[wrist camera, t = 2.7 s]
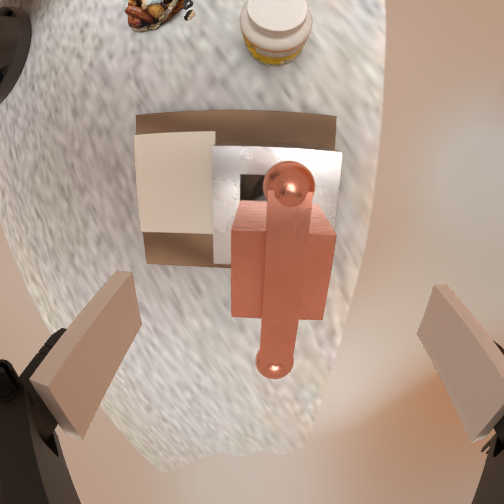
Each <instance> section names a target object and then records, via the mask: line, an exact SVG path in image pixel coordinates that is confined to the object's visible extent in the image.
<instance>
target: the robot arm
mask: <svg viewBox="0 0 504 504" xmlns="http://www.w3.org/2000/svg"><path fill="white" fill-rule="evenodd" d="M30 37H31V25H30V20H29V17H28V15H27V14H26V12H25V11H23V10H22V9H18V8H14V7H0V102H1V101H2V100H3V99H4V98H5V97H6V96H7V94H8V93H9V92H10V90H11V89H12V87H13V86H14V84H15V82H16V81H17V79H18V77H19V75H20V73H21V70H22V68H23V65H24V63H25V60H26V57H27V53H28V49H29V44H30ZM141 325H142V322H141V318H140V313H139V308H138V303H137V298H136V292H135V287H134V281H133V275H132V272H124V271H116V272H115V273H114V274H113V275H112V277H111V278H110V279H109V280H108V281H107V282H106V283H105V284H104V286H103V287H102V288H101V289H100V290H99V291H98V292H97V294H96V295H95V296H94V297H93V298H92V299H91V301H90V302H89V303H88V304H87V305H86V307H85V308H84V309H83V310H82V311H81V313H80V314H79V315H78V316H77V317H76V319H75V320H74V321H73V322H72V324H71V325H70V326H69V327H68V329H65V328H61V329H60V330H58V331H57V332H56V333H54V334H53V335H51V337H50V338H49V339H48V340H47V342H46V343H45V344H44V346H43V347H42V348H41V349H40V350H39V353H37V354H36V356H35V357H34V358H33V359H32V361H31V362H30V363H29V365H28V366H27V367H26V369H25V370H24V371H23V373H22V374H21V375H20V377H18V375H17V373H16V371H15V370H14V368H13V366H12V364H11V363H9V362H8V361H7V360H2V359H1V360H0V504H81V502H80V500H79V498H78V495H77V493H76V490H75V488H74V485H73V482H72V480H71V477H70V474H69V471H68V468H67V465H66V462H65V459H64V456H63V453H62V449H61V446H60V442H59V439H58V436H57V434H56V432H55V428H56V426H57V424H59V426H60V427H61V428H62V430H63V431H64V433H66V434H68V435H71V436H74V437H77V438H79V439H82V440H83V438H84V436H85V434H86V432H87V430H88V428H89V425H90V423H91V421H92V419H93V417H94V415H95V413H96V411H97V409H98V407H99V405H100V403H101V401H102V399H103V397H104V395H105V393H106V391H107V389H108V387H109V385H110V383H111V381H112V379H113V377H114V375H115V373H116V371H117V369H118V368H119V366H120V364H121V362H122V360H123V358H124V356H125V354H126V352H127V351H128V349H129V347H130V345H131V343H132V341H133V340H134V338H135V336H136V334H137V332H138V330H139V329H140V327H141ZM417 335H418V337H419V339H420V340H421V342H422V344H423V346H424V347H425V349H426V351H427V353H428V355H429V357H430V358H431V360H432V362H433V364H434V366H435V368H436V370H437V372H438V374H439V376H440V378H441V380H442V382H443V384H444V386H445V388H446V390H447V392H448V394H449V396H450V398H451V400H452V402H453V404H454V406H455V409H456V411H457V413H458V415H459V417H460V419H461V422H462V424H463V426H464V428H465V431H466V433H467V435H468V438H469V440H470V443H472V442H475V441H477V440H480V439H483V438H485V437H486V436H487V435H488V434H489V433H490V431H491V430H492V429H493V428H494V429H495V431H496V434H495V435H494V436H493V437H492V438H491V439H490V440H489V441H488V442H487V443H486V445H485V446H484V447H483V448H482V450H481V452H483V451H484V450H485V449H486V448H487V447H488V446H490V448H489V450H488V451H487V452H486V454H488V455H487V459H486V463H485V466H484V469H483V473H482V476H481V479H480V482H479V485H478V488H477V490H476V493H475V496H474V499H473V502H472V504H504V349H503V348H502V347H501V346H500V345H498V344H497V343H496V342H495V341H493V340H492V339H491V338H490V336H489V335H488V334H487V332H486V331H485V330H484V328H483V327H482V326H481V325H480V324H479V322H478V321H477V320H476V318H475V317H474V316H473V315H472V313H471V312H470V311H469V310H468V309H467V307H465V305H464V304H463V303H462V302H461V300H460V299H459V298H458V297H457V296H456V295H455V293H454V292H453V291H452V290H451V289H450V288H449V287H448V285H434V287H433V290H432V293H431V296H430V299H429V302H428V305H427V308H426V311H425V314H424V317H423V319H422V322H421V325H420V327H419V330H418V332H417Z"/></svg>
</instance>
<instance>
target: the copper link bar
mask: <svg viewBox="0 0 504 504" xmlns="http://www.w3.org/2000/svg"><path fill="white" fill-rule="evenodd" d="M314 193H315V180H314V177H313V175H312V173H311V171H310V170H309V169H308V168H307V167H306V166H305V165H303V164H301V163H299V162H297V161H292V160H285V161H281V162H278V163H276V164H275V165H273V166H272V167H271V168H270V169H269V170H268V171H267V173H266V175H265V176H264V177H263V178H261V179H260V180H259V181H258V182H257V183H256V184H255V186H254V189H253V193H252V198H251V201H247V200H240V203H239V206H238V209H237V213H236V216H235V219H234V222H233V225H232V228H231V315H232V317H246V318H261V336H260V349H259V351H258V353H257V355H256V360H255V361H256V367H257V369H258V371H259V372H260V373H261V374H262V375H263V376H264V377H266V378H269V379H279V378H282V377H284V376H286V375H287V374H288V373H289V372H291V369H292V367H293V363H294V358H293V354H294V347H295V341H296V334H297V327H298V320H299V319H301V320H323V314H324V309H325V304H326V298H327V293H328V287H329V281H330V275H331V269H332V262H333V256H334V249H335V242H336V233H335V231H334V230H333V228H332V226H331V225H330V223H329V221H328V219H327V218H326V216H325V214H324V213H323V211H322V209H321V207H320V206H319V204H312V198H313V196H314Z"/></svg>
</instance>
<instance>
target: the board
mask: <svg viewBox="0 0 504 504" xmlns="http://www.w3.org/2000/svg"><path fill="white" fill-rule="evenodd" d="M336 117H337V116H329V115H319V114H308V113H296V112H280V111H255V110H207V111H182V112H167V113H154V114H143V115H136V135H141V134H154V133H170V132H196V131H216V144H217V143H220V142H265V143H285V144H301V145H314V146H325V147H331V148H333V149H335V134H336ZM264 176H265V175H252V174H245V176H244V200H247V201H251V198H252V193H253V189H254V186H255V184H256V183H257V182H258V181H259V180H260V179H261V178H263V177H264ZM143 236H144V245H145V253H146V260H147V264H163V265H181V266H200V267H220V268H231V264H214V253H213V234H199V233H167V232H143Z"/></svg>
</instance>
